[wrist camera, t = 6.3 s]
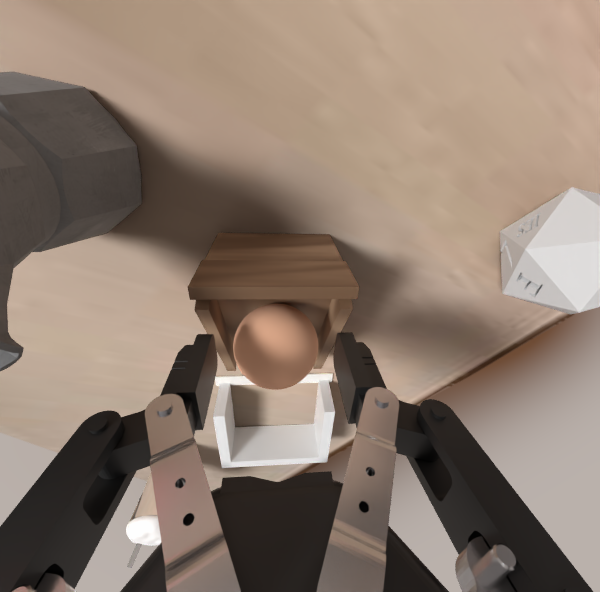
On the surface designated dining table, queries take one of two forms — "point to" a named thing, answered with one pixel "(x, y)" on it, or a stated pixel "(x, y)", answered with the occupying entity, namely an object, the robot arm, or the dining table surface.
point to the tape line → (244, 381)
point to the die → (555, 253)
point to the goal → (273, 435)
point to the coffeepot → (57, 175)
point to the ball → (275, 346)
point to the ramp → (272, 285)
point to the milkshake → (144, 522)
